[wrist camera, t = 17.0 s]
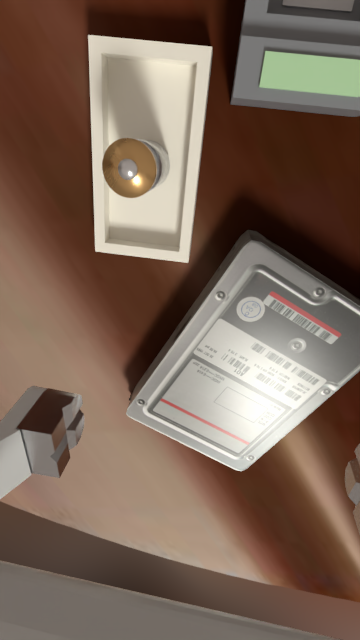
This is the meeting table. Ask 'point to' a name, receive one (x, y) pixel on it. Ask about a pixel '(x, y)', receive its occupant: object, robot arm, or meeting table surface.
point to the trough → (148, 124)
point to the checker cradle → (299, 56)
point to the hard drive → (251, 355)
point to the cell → (135, 166)
